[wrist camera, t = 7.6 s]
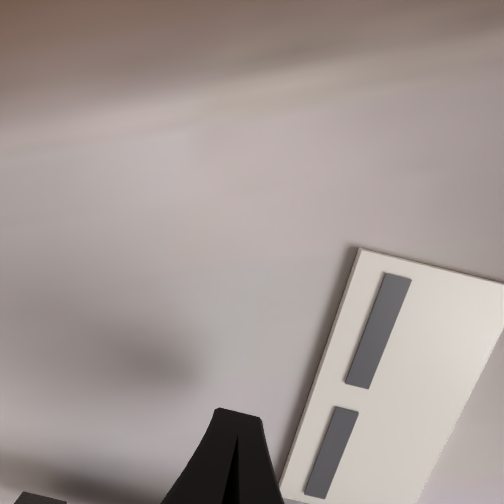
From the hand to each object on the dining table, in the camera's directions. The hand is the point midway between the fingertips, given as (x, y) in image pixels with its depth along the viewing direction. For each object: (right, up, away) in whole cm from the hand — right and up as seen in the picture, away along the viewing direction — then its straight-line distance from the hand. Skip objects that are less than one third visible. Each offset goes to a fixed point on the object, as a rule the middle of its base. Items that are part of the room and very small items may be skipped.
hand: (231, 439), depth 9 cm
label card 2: (+6, +3, +1) cm, 6 cm away
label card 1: (+5, -2, +2) cm, 6 cm away
